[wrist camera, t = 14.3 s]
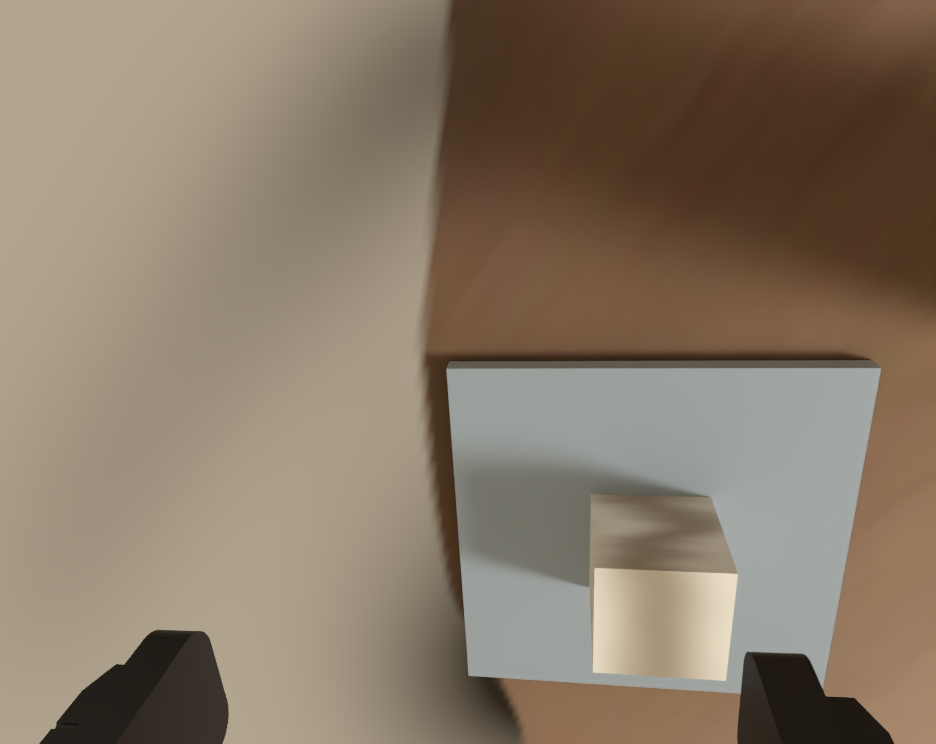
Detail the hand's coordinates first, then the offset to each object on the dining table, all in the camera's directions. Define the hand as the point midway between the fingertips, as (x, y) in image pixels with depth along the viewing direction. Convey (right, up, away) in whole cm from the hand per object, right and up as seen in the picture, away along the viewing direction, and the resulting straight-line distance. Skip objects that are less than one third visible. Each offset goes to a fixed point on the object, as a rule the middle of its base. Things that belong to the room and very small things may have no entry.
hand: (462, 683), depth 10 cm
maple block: (+10, -5, +26) cm, 28 cm away
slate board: (+10, -4, +27) cm, 29 cm away
